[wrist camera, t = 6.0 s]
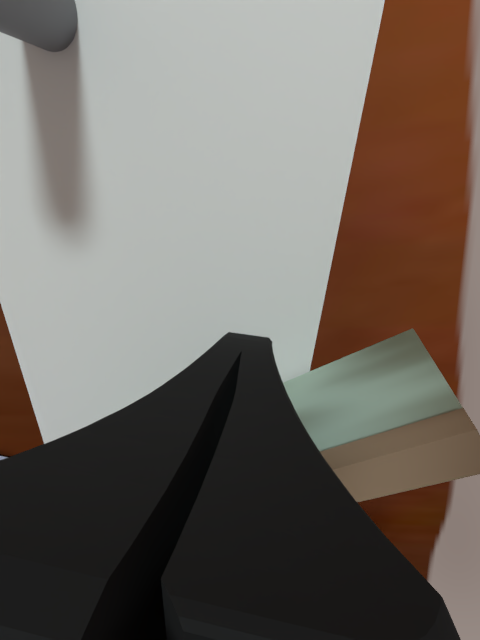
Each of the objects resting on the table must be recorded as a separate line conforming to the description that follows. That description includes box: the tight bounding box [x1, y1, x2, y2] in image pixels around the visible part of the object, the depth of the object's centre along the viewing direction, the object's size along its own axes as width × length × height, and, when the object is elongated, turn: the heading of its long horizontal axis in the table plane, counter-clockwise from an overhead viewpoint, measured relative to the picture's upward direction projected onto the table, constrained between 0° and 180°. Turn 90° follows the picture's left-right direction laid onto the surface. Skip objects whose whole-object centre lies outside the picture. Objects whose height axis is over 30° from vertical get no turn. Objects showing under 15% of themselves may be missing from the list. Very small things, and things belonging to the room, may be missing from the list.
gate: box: [283, 329, 480, 502], centre depth 11 cm, size 15×2×4 cm, turn 124°
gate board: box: [0, 0, 385, 444], centre depth 10 cm, size 12×20×6 cm, turn 176°
